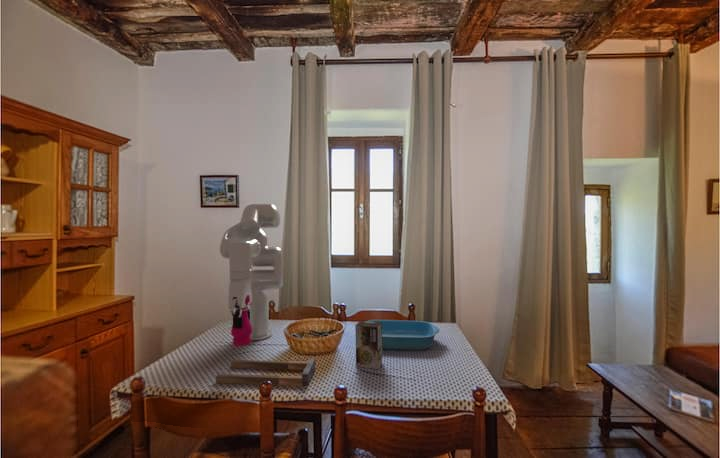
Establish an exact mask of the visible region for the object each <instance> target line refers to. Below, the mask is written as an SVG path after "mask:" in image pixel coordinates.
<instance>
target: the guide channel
mask: <svg viewBox="0 0 720 458" xmlns="http://www.w3.org/2000/svg"><path fill="white" fill-rule="evenodd" d="M316 363H317V362H316V357H309V359H308V361H295V360H293V361H291V360H290V361H289V360H257V359H256V360H251V359H232V360H230V369H249V370H250V369H251V370H252V369H253V370H257V369H258V370H259V369H260V370H289V369H290V370H294V371H295V370H296V371H302V374H301V376H299V375H269V374H268V375H267V374H263V375H262V374H237V373H236V374H235V373H233V374H232V373H231V374H230V373H217V374H216V376H215V384H232V385H236V384H237V385H261V384H260V383H262V382H264V381H270V382H271V383H272V384H273V385H272V386H295V385H296V387H297V386H302V387H308V386H309V385H310V382H311V379H312V378H313V376H314V373H315V371H316ZM312 375H313V376H312Z"/></svg>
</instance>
